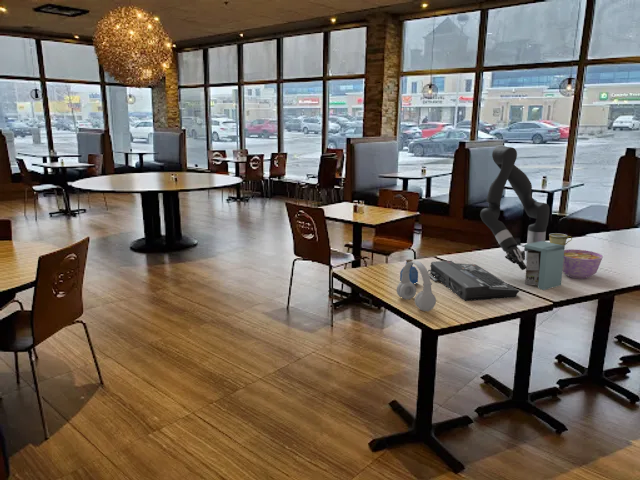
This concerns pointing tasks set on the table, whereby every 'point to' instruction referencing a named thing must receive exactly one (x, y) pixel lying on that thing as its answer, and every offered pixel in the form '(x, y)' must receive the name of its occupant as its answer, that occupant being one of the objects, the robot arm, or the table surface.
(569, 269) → the bowl of food
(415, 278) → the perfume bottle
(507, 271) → the table surface
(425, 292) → the headphones
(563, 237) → the ceramic cup
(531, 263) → the coffee box
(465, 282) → the vintage computer
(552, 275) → the bracket
